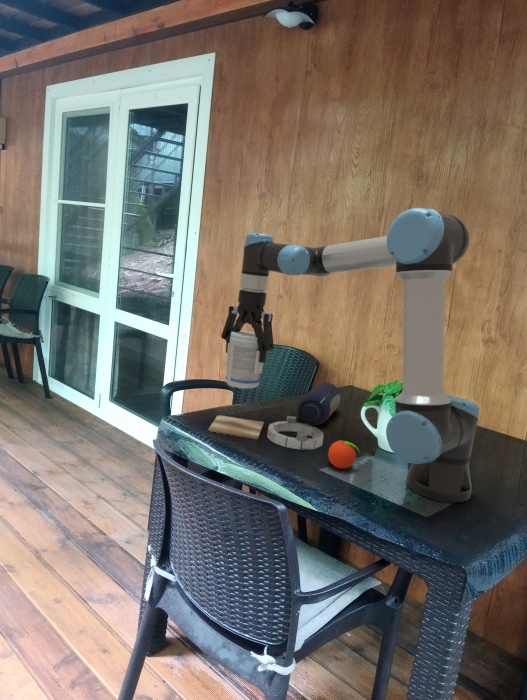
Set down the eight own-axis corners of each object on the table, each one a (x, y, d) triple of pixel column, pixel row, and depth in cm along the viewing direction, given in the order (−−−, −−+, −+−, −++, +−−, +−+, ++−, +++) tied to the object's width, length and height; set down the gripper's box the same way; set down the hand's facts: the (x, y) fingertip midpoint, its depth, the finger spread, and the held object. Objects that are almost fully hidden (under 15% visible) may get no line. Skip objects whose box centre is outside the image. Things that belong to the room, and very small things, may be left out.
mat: (257, 439, 157) (257, 437, 157) (207, 431, 158) (208, 429, 158) (263, 424, 171) (263, 422, 170) (217, 416, 172) (217, 415, 172)
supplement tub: (265, 388, 161) (271, 337, 159) (238, 390, 155) (245, 337, 153) (244, 379, 169) (250, 330, 166) (218, 381, 163) (224, 330, 160)
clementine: (360, 467, 146) (364, 440, 145) (355, 476, 140) (359, 448, 138) (329, 459, 148) (333, 433, 147) (323, 468, 142) (327, 441, 141)
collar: (321, 453, 152) (323, 439, 151) (264, 444, 153) (266, 430, 153) (322, 434, 168) (324, 421, 167) (270, 425, 170) (272, 413, 169)
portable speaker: (324, 431, 171) (329, 399, 169) (292, 424, 174) (296, 393, 172) (341, 411, 194) (345, 383, 192) (313, 405, 197) (317, 377, 196)
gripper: (293, 296, 154) (283, 376, 158) (230, 284, 166) (222, 359, 170) (277, 296, 148) (267, 380, 152) (213, 284, 160) (205, 361, 164)
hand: (243, 369), depth 161 cm, fingers closed on supplement tub, 9 cm apart
